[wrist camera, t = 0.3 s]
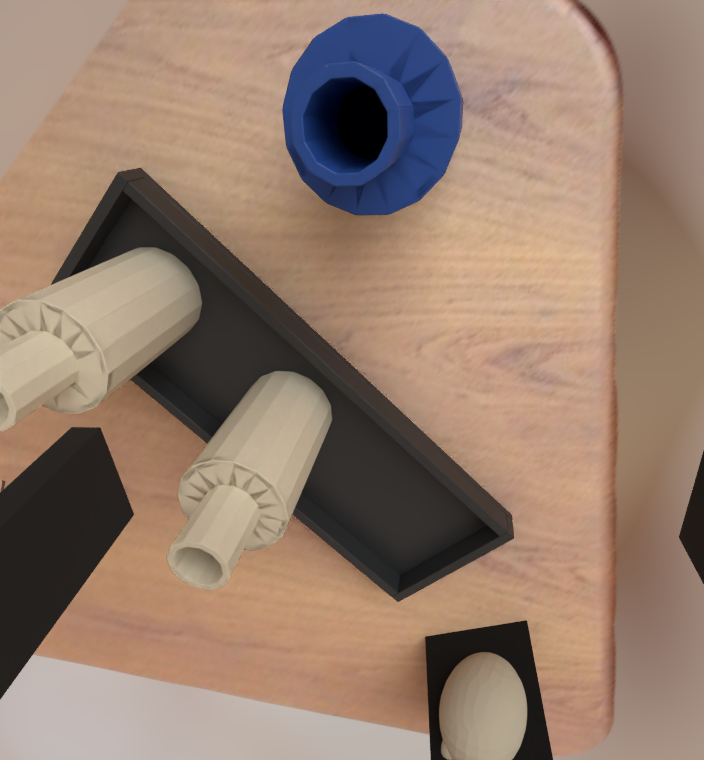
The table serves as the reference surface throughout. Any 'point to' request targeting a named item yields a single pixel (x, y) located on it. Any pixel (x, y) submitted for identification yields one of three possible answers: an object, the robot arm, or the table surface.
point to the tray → (326, 369)
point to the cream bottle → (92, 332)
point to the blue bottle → (372, 114)
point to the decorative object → (485, 696)
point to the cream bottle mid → (249, 477)
